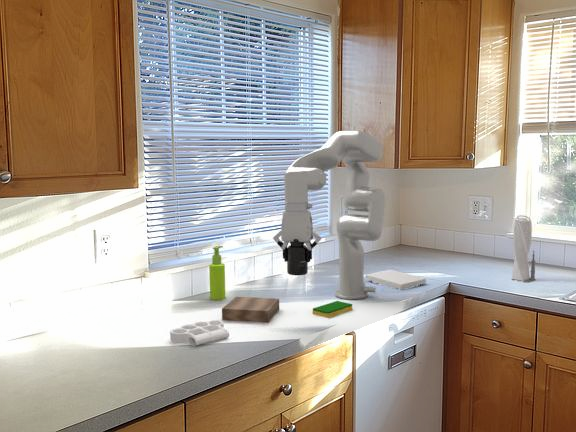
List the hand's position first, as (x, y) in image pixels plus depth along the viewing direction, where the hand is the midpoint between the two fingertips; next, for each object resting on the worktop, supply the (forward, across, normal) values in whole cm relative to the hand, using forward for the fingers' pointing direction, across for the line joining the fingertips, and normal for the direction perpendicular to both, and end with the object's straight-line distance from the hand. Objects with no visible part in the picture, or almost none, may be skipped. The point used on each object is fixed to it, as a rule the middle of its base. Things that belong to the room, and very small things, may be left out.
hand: (297, 260), depth 198 cm
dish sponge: (+21, -10, -12) cm, 26 cm away
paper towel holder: (+22, -82, -74) cm, 113 cm away
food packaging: (+22, -29, -60) cm, 70 cm away
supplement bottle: (+5, 0, 0) cm, 5 cm away
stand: (+20, +17, -3) cm, 27 cm away
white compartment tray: (+20, +26, +22) cm, 40 cm away
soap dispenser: (+21, +36, -23) cm, 48 cm away
